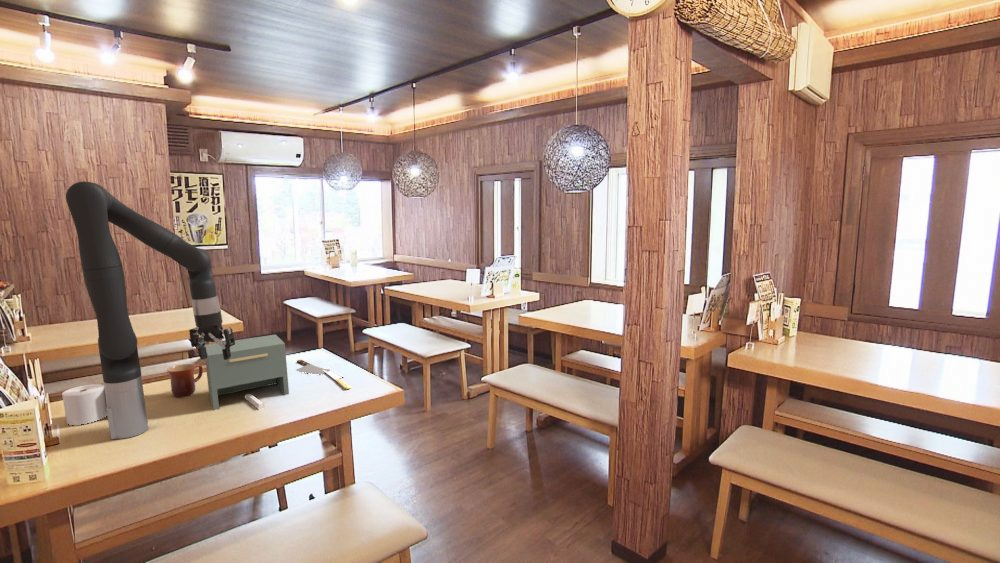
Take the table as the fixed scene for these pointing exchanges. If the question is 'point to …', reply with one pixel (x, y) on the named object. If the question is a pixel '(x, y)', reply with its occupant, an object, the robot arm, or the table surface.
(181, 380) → the mug
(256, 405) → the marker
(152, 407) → the table surface
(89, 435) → the table surface
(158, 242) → the robot arm
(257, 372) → the cabinet
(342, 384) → the knife
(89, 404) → the toilet tissue
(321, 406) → the table surface
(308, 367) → the kitchen cleaver
